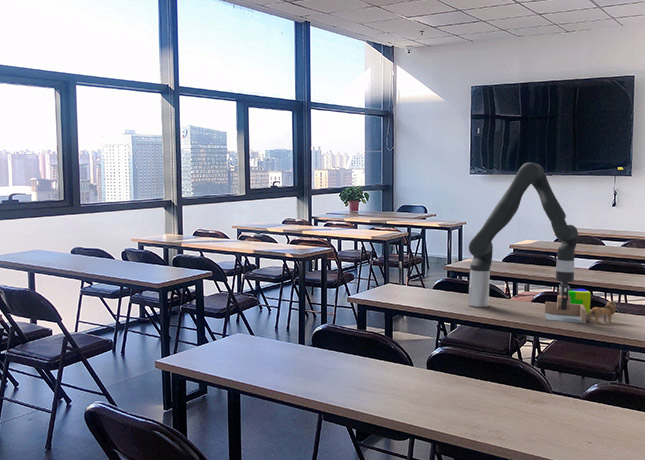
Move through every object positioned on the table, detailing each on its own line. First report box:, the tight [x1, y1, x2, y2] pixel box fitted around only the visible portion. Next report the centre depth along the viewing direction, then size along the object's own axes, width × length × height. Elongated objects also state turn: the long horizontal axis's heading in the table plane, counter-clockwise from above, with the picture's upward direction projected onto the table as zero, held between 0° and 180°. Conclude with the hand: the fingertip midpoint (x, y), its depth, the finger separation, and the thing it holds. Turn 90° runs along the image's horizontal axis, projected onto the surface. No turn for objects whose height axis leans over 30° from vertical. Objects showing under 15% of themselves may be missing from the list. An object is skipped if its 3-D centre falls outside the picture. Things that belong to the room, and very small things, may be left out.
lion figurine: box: [587, 300, 617, 324], centre depth 272 cm, size 15×5×9 cm, turn 114°
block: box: [556, 294, 571, 311], centre depth 277 cm, size 5×5×6 cm
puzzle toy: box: [568, 287, 592, 313], centre depth 294 cm, size 10×10×10 cm
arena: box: [544, 301, 587, 324], centre depth 278 cm, size 16×15×5 cm
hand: (563, 308), depth 277 cm, fingers closed on block, 5 cm apart
